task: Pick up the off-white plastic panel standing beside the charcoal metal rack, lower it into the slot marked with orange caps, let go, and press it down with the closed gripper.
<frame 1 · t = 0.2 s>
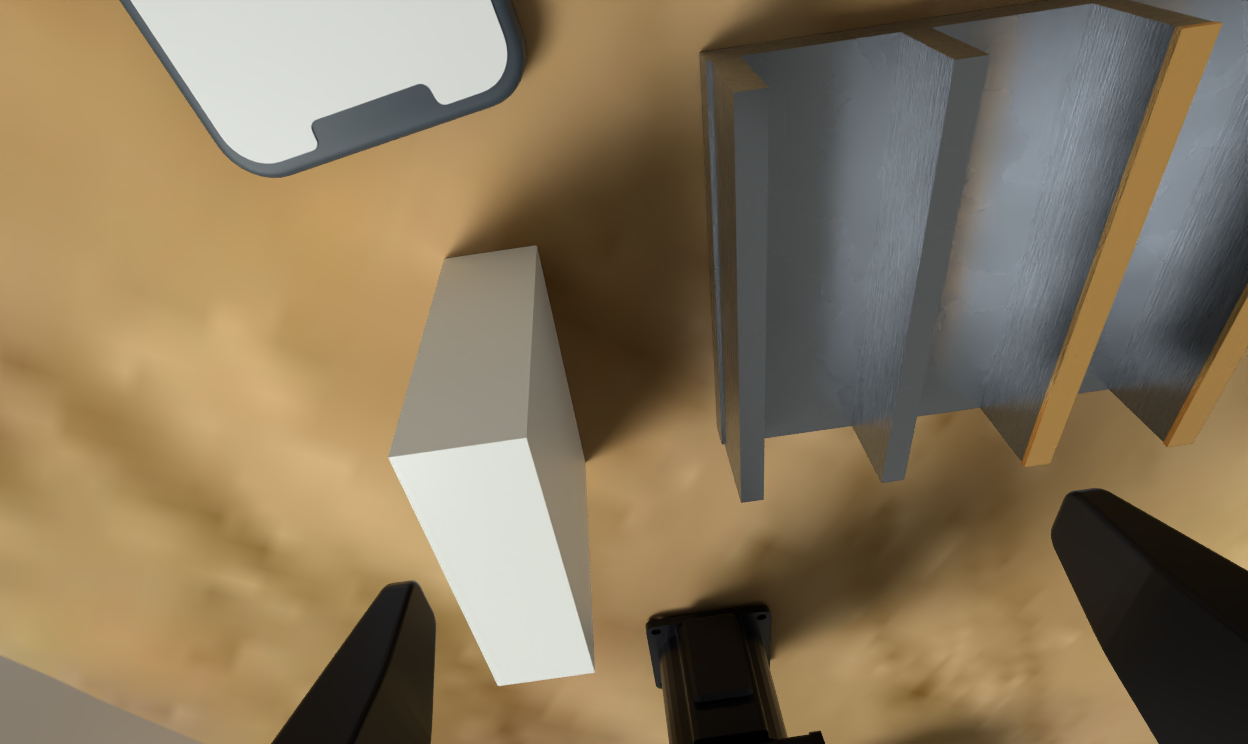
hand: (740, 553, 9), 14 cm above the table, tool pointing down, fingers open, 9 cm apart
panel: (523, 372, 24), on the table
rack: (946, 241, 22), on the table
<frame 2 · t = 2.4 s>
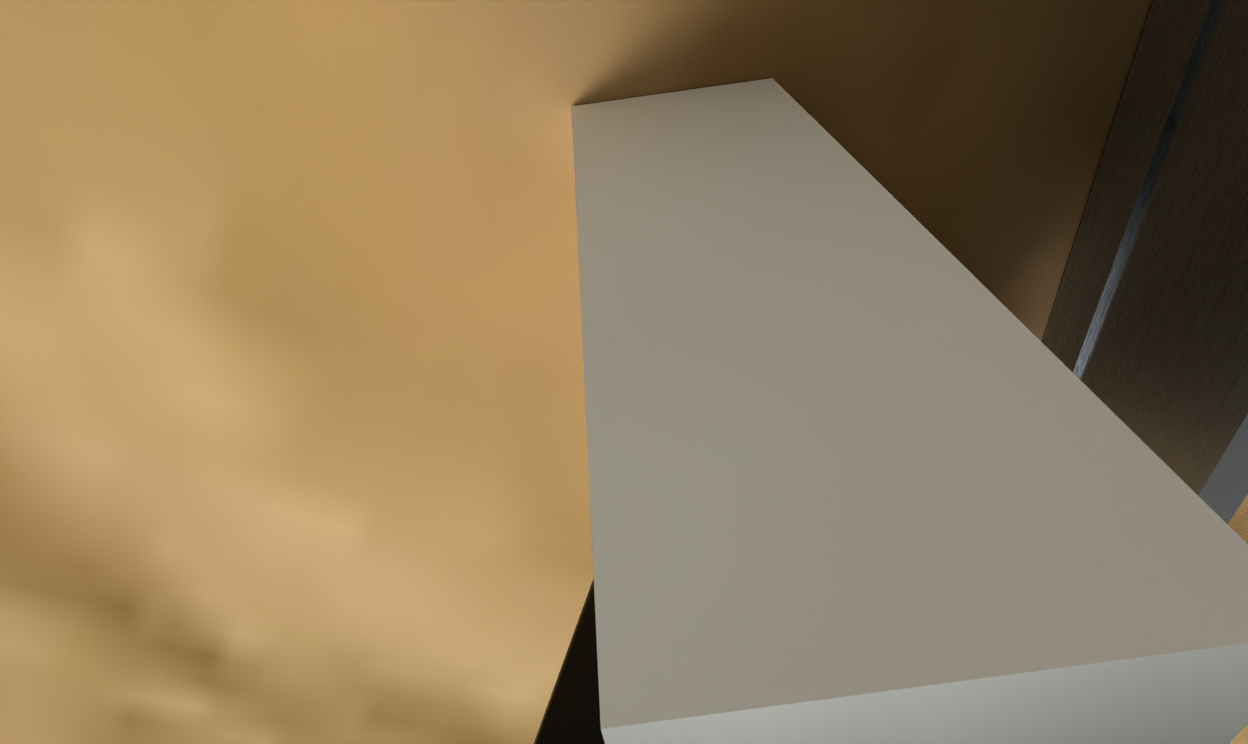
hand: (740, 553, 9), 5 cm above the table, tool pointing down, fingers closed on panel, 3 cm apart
panel: (689, 361, 13), on the table, touching gripper
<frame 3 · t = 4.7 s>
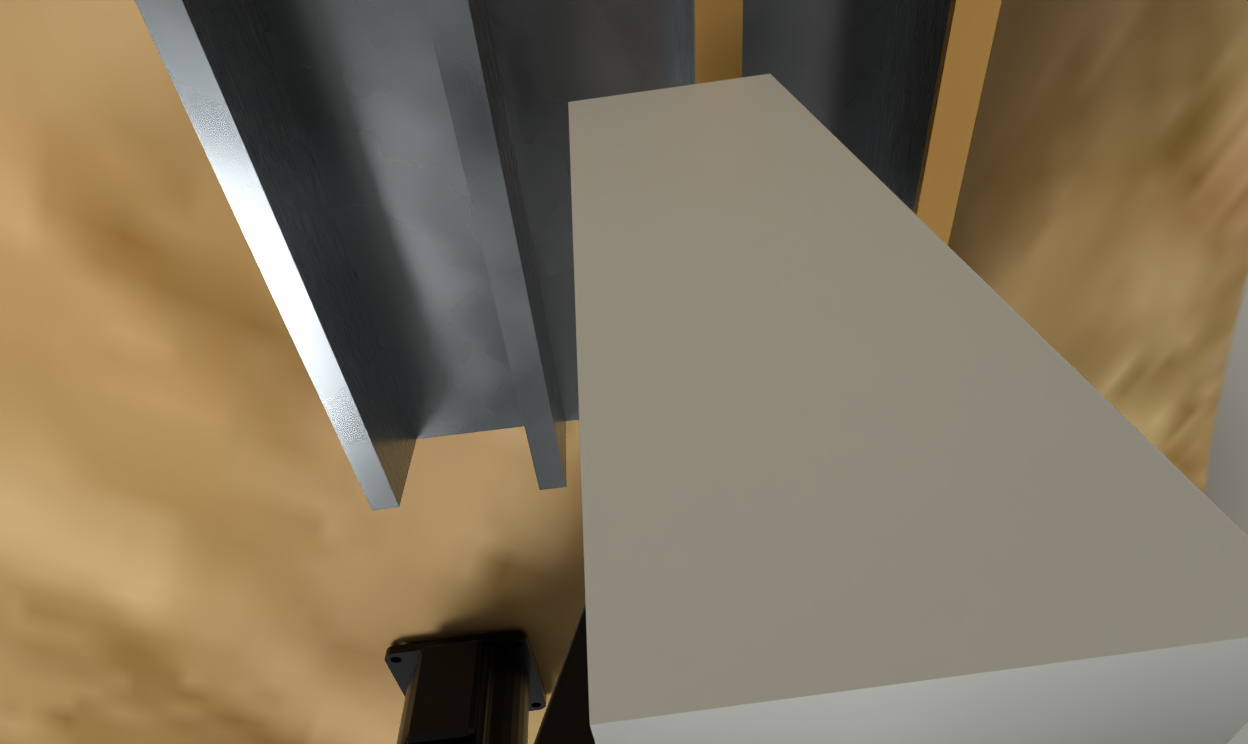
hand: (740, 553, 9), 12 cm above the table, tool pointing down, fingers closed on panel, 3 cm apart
panel: (687, 359, 13), point 8 cm above the table, touching gripper
rack: (603, 203, 19), on the table
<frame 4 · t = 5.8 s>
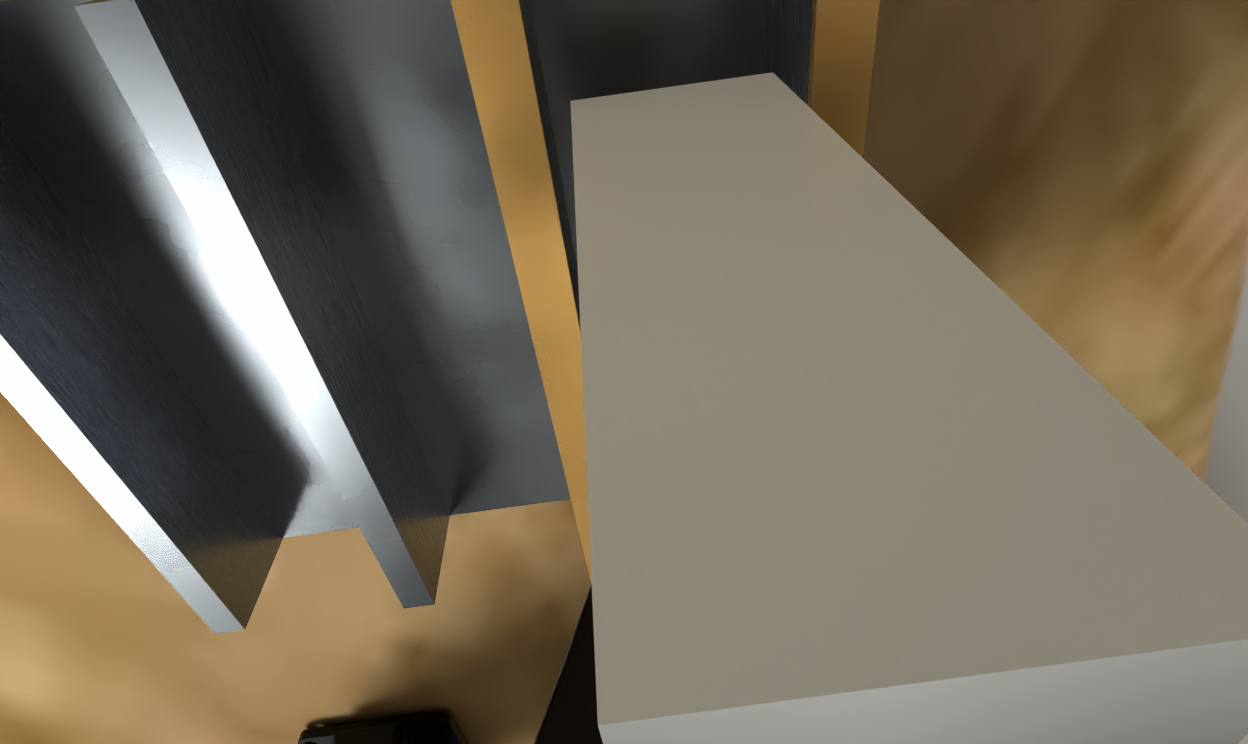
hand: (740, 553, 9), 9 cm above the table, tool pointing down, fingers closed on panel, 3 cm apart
panel: (689, 359, 13), point 4 cm above the table, touching gripper
rack: (462, 283, 16), on the table
when the fingers open (6 cm above the table, at t = 6.9 s): panel stays where it is, resting on rack.
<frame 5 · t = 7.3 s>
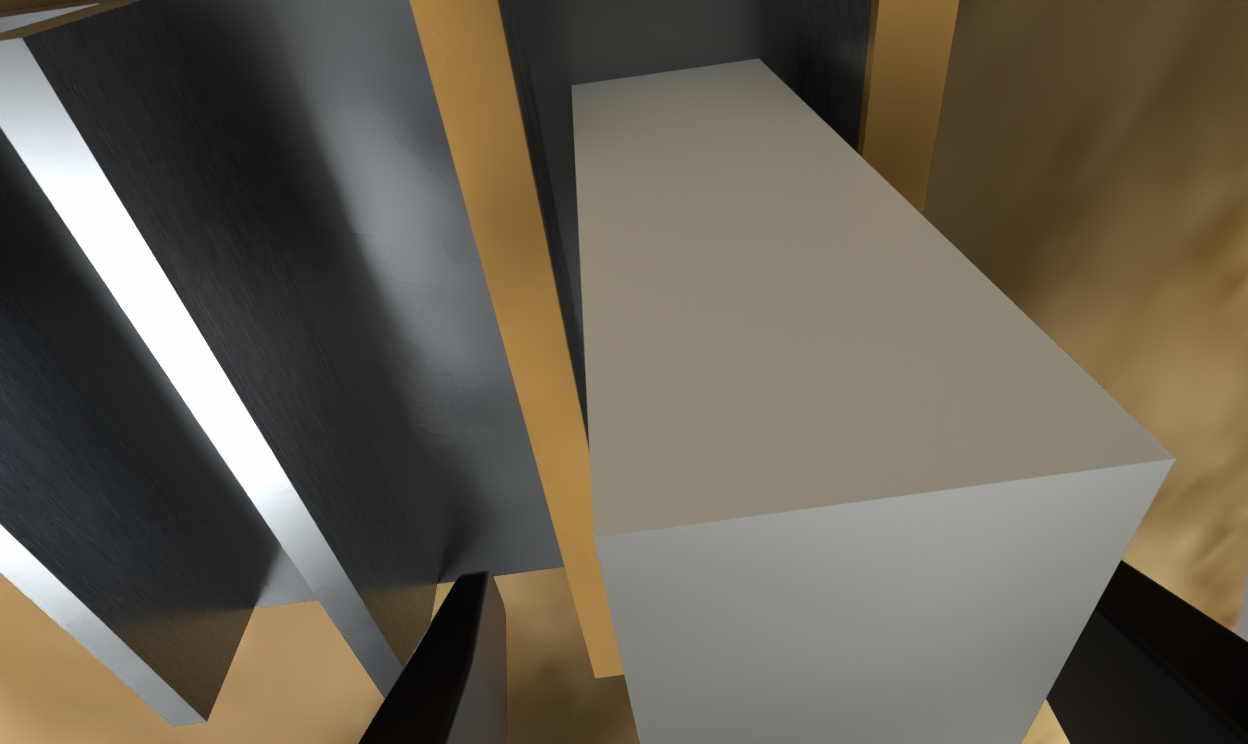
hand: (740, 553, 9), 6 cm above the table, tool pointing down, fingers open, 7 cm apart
panel: (684, 331, 14), point 1 cm above the table, touching rack
rack: (448, 339, 14), on the table
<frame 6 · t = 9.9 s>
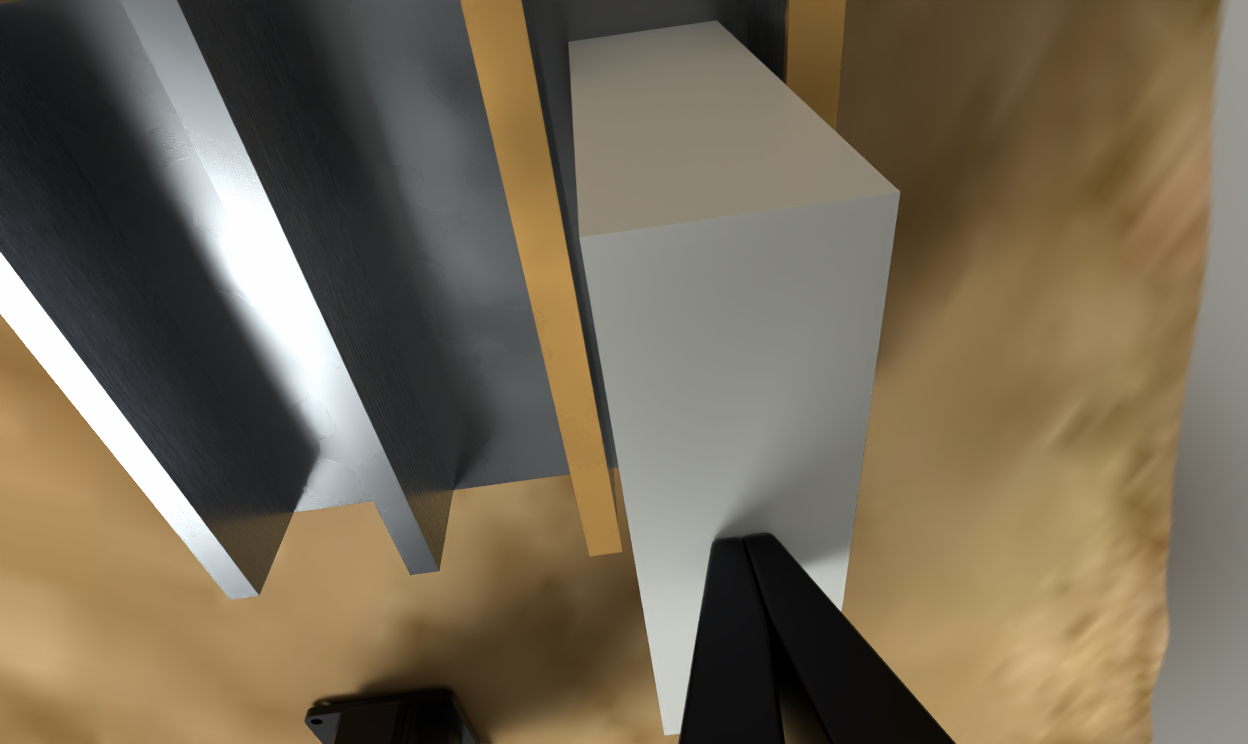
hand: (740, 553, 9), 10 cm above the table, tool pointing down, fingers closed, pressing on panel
panel: (662, 254, 16), point 1 cm above the table, touching gripper, rack
rack: (465, 265, 17), on the table
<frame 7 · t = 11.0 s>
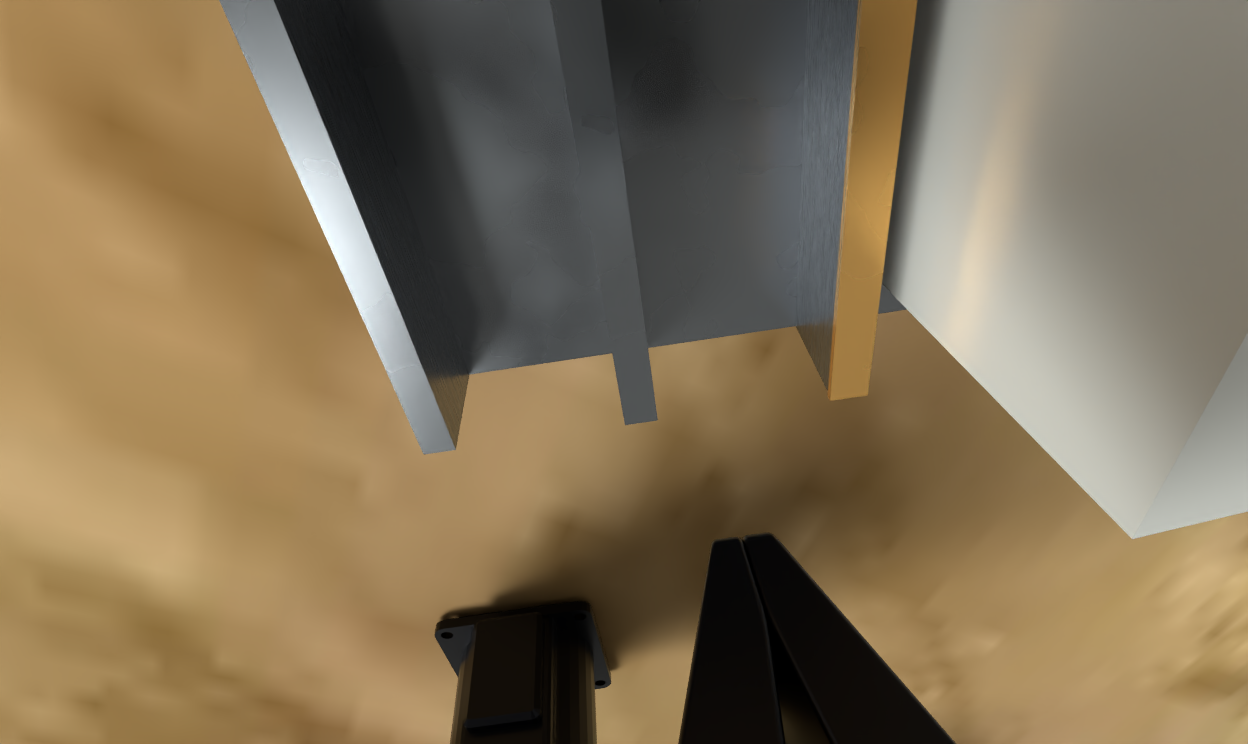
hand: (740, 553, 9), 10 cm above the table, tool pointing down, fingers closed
panel: (948, 34, 14), point 1 cm above the table, tilted 6°, touching rack
rack: (699, 60, 15), on the table
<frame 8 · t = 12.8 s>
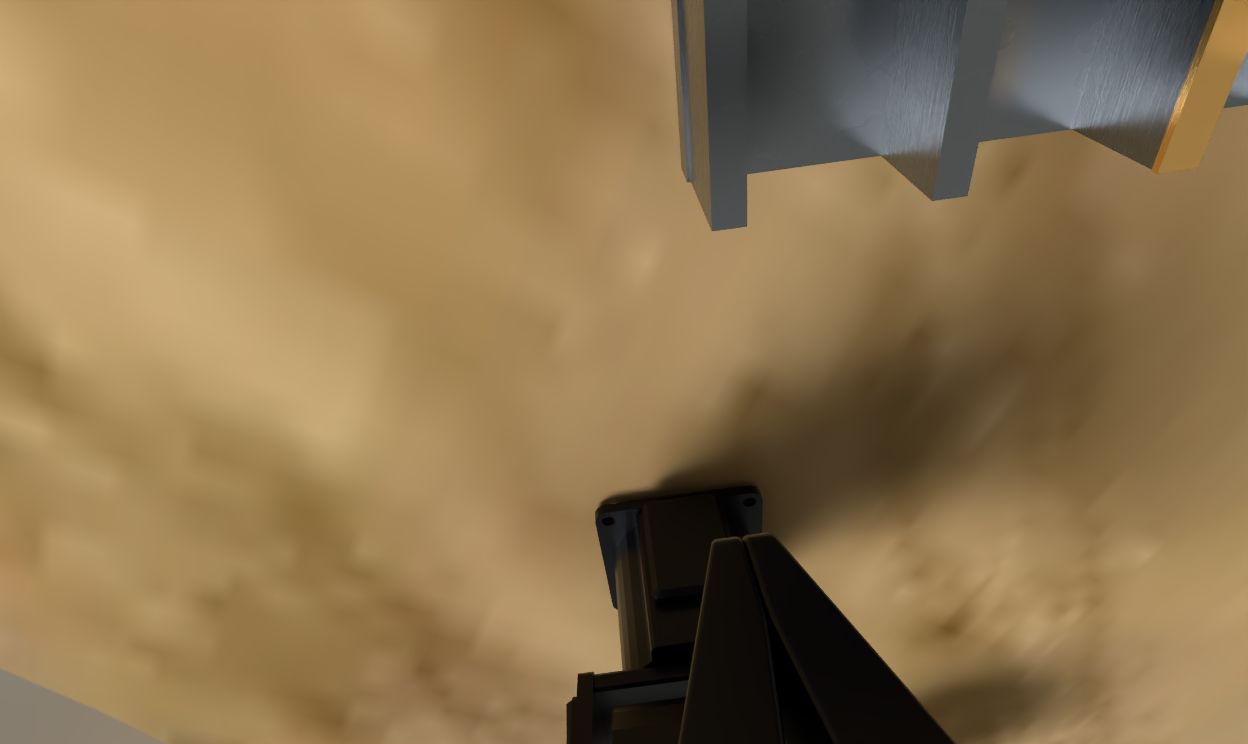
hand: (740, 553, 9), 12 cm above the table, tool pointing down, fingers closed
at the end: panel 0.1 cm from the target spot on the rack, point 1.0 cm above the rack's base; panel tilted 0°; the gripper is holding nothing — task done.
